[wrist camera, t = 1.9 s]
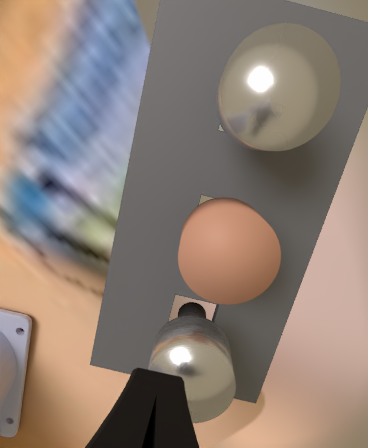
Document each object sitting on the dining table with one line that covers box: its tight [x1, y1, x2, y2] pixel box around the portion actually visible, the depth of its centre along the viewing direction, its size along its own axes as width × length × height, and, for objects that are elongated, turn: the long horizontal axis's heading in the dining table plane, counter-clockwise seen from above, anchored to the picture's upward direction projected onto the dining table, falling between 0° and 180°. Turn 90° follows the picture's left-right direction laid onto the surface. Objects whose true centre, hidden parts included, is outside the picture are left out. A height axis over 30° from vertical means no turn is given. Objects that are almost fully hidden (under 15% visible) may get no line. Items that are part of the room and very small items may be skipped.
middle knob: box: [178, 197, 281, 305], centre depth 12 cm, size 3×3×5 cm
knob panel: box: [90, 0, 368, 403], centre depth 15 cm, size 18×9×3 cm, turn 166°
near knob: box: [216, 23, 341, 151], centre depth 10 cm, size 3×3×5 cm
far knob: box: [148, 302, 236, 423], centre depth 13 cm, size 3×3×5 cm
